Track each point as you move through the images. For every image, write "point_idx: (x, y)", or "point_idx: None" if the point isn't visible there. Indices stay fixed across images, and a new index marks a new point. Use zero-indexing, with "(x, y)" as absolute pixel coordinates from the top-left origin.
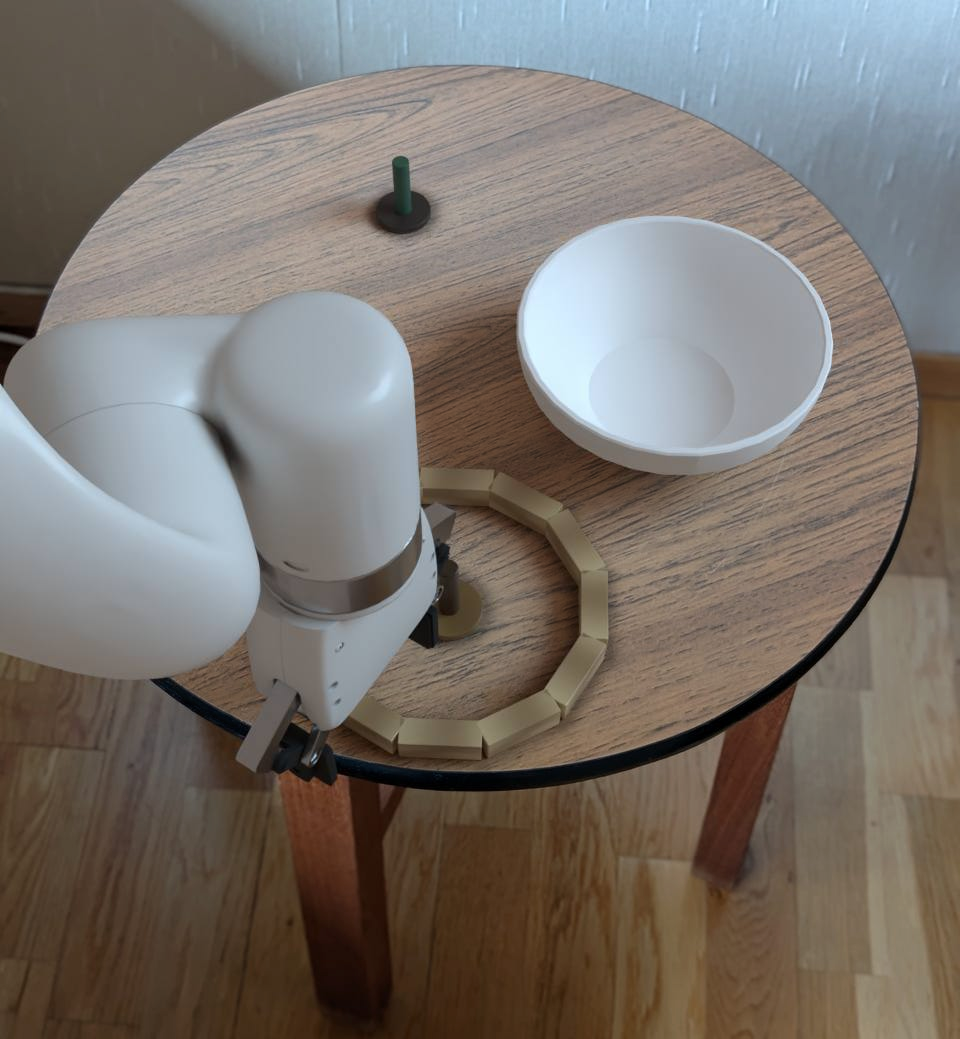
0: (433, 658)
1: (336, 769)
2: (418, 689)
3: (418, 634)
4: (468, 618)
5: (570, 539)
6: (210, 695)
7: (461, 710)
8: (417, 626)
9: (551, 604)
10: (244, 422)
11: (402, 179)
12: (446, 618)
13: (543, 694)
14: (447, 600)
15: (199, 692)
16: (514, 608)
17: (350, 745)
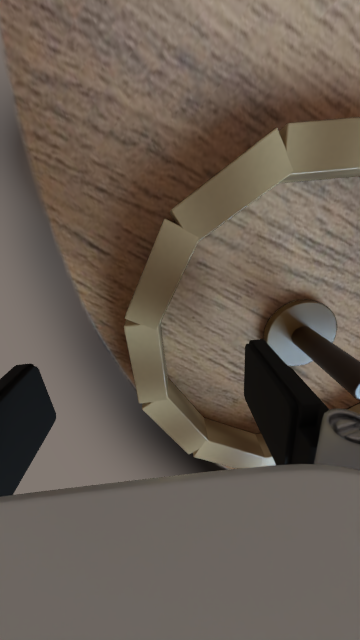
0: (243, 351)
1: (47, 433)
2: (208, 360)
3: (253, 401)
4: (298, 357)
5: None
6: (42, 180)
7: (213, 396)
8: (262, 418)
9: (342, 391)
10: None
11: None
12: (288, 341)
13: (260, 459)
14: (311, 357)
15: (33, 162)
16: (325, 372)
17: (122, 350)
